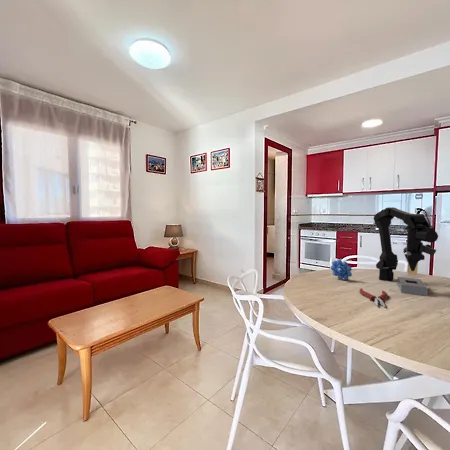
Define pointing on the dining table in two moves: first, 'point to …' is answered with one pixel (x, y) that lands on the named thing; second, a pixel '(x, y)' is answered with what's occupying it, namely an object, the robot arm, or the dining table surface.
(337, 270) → the grapes
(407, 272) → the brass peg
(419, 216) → the robot arm
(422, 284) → the grey block with hole
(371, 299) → the pliers
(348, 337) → the dining table surface
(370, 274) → the dining table surface
